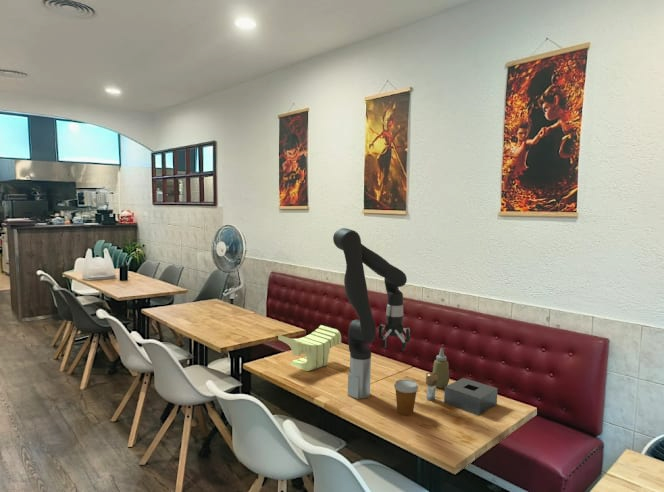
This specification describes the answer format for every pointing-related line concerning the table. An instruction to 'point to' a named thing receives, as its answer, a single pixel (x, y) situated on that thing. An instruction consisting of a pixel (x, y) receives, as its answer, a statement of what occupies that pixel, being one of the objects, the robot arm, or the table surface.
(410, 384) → the disposable coffee cup
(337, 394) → the table surface
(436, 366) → the squeeze bottle
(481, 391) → the block
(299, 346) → the slatted curved stool
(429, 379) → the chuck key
